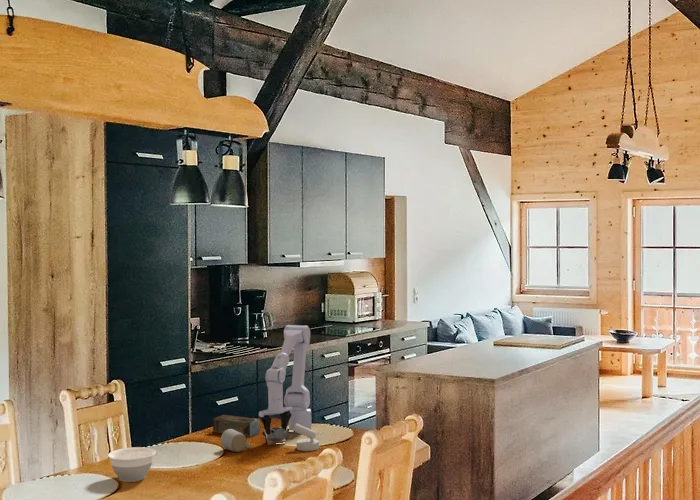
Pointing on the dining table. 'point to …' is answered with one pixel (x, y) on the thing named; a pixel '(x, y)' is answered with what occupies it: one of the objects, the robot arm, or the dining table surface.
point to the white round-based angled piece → (306, 443)
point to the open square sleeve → (276, 434)
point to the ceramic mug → (234, 440)
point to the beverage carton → (236, 425)
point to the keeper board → (272, 442)
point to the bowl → (131, 463)
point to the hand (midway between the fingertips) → (275, 432)
